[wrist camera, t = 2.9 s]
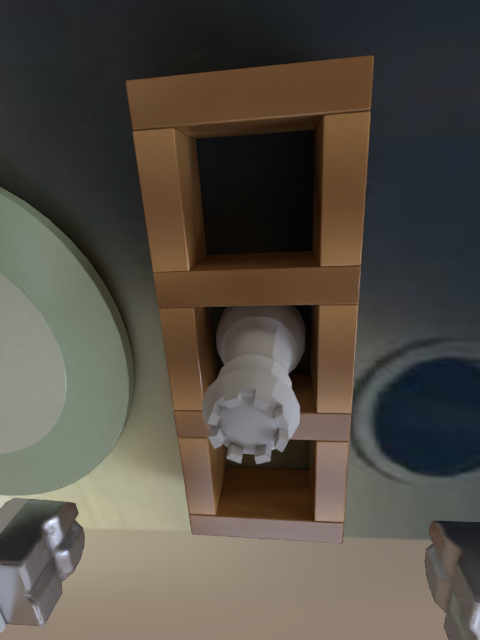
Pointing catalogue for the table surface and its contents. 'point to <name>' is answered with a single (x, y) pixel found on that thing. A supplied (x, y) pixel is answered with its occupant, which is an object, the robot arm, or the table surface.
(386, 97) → the table surface
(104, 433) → the plate
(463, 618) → the robot arm
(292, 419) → the rook chess piece
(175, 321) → the rack
